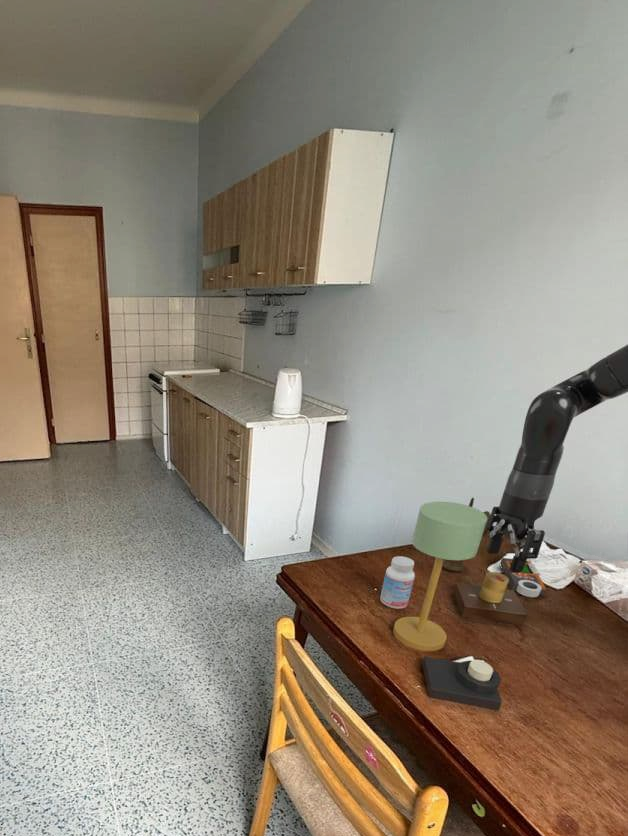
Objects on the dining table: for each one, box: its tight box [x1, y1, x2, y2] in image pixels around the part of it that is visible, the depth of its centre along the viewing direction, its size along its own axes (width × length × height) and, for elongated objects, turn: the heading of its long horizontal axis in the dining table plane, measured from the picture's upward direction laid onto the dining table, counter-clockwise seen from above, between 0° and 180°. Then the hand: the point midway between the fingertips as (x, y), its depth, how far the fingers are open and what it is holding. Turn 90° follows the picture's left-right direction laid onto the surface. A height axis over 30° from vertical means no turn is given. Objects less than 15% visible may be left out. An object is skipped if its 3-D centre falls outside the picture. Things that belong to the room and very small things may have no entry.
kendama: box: [442, 497, 491, 573], centre depth 120 cm, size 6×10×20 cm, turn 72°
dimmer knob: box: [479, 571, 509, 603], centre depth 105 cm, size 4×4×6 cm
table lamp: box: [392, 501, 487, 652], centre depth 93 cm, size 11×11×28 cm
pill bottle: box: [379, 555, 416, 610], centre depth 108 cm, size 6×6×11 cm
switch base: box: [421, 656, 503, 711], centre depth 86 cm, size 11×9×4 cm
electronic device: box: [499, 557, 547, 598], centre depth 117 cm, size 7×3×15 cm
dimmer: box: [452, 582, 528, 627], centre depth 107 cm, size 12×10×3 cm
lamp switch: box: [467, 659, 494, 681], centre depth 84 cm, size 4×4×2 cm
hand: (503, 562), depth 102 cm, fingers open, 8 cm apart
